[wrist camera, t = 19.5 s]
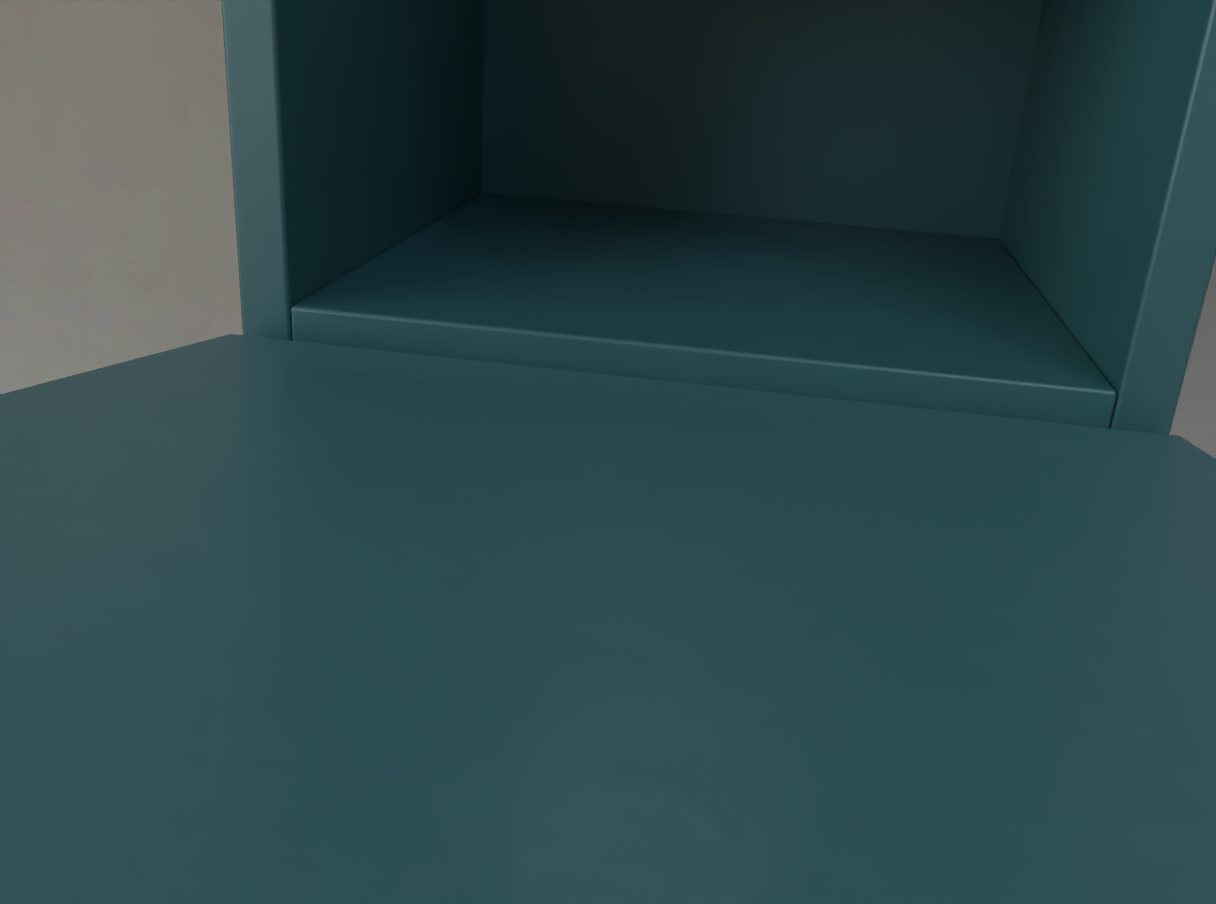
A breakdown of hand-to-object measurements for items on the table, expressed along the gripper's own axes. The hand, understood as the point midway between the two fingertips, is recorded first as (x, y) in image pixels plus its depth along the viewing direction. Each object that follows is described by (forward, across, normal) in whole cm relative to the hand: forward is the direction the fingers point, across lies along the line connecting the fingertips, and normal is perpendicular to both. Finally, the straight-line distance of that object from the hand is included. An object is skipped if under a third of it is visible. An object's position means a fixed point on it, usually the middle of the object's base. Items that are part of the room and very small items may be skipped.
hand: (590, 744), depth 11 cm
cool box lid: (-1, 0, -3) cm, 3 cm away
